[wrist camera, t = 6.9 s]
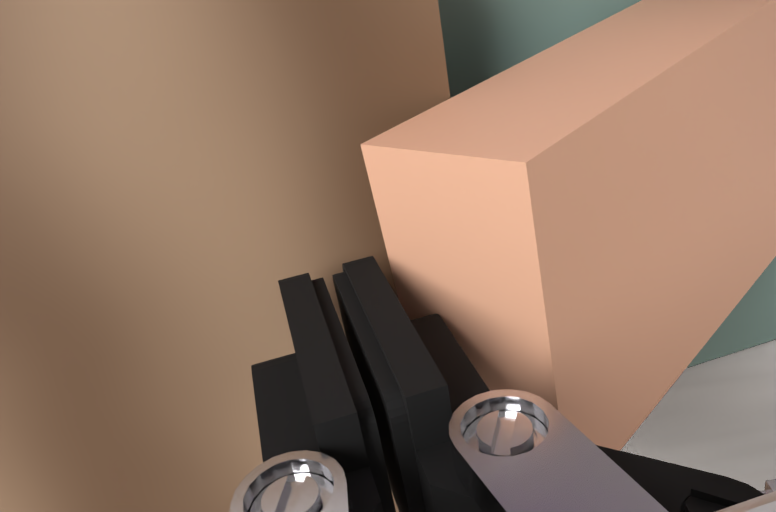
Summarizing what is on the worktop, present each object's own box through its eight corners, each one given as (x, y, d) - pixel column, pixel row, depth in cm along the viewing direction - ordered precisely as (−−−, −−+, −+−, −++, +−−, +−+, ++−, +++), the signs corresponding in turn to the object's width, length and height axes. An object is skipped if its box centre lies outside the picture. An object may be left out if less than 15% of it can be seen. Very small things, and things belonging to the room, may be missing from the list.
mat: (903, -208, 15) (928, -214, 15) (829, 308, 22) (844, 316, 21) (385, -113, 13) (393, -116, 13) (466, 423, 20) (473, 436, 19)
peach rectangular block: (644, -2, 15) (791, -13, 13) (653, 233, 18) (776, 254, 16) (360, 144, 10) (526, 162, 8) (433, 439, 13) (571, 511, 11)
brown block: (361, -109, 13) (420, -133, 10) (450, 428, 20) (506, 532, 16) (-510, 50, 11) (-844, 92, 8) (-97, 603, 17) (-173, 769, 14)
